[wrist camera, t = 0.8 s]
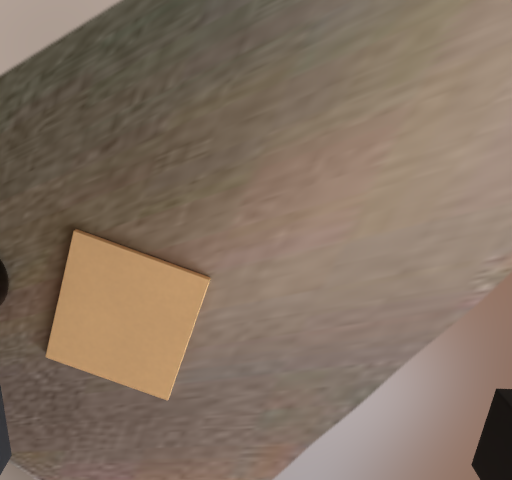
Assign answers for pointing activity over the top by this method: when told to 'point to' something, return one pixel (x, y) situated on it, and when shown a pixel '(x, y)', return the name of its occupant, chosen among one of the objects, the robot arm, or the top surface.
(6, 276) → the supplement bottle
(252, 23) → the top surface
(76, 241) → the cork mat
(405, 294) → the top surface
